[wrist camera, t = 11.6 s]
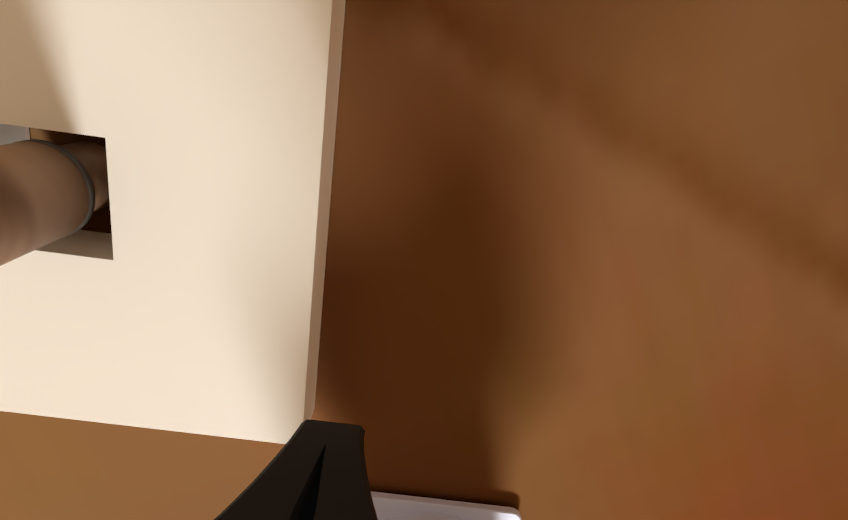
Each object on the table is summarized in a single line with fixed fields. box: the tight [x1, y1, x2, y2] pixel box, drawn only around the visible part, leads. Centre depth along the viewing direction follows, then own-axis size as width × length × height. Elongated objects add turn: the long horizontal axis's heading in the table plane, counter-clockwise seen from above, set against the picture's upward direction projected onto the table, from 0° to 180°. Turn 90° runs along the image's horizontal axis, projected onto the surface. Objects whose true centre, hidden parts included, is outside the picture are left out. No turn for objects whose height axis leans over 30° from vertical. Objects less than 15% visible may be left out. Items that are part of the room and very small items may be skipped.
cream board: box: [0, 0, 346, 444], centre depth 19 cm, size 18×18×2 cm
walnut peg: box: [0, 139, 110, 266], centre depth 16 cm, size 3×3×8 cm
